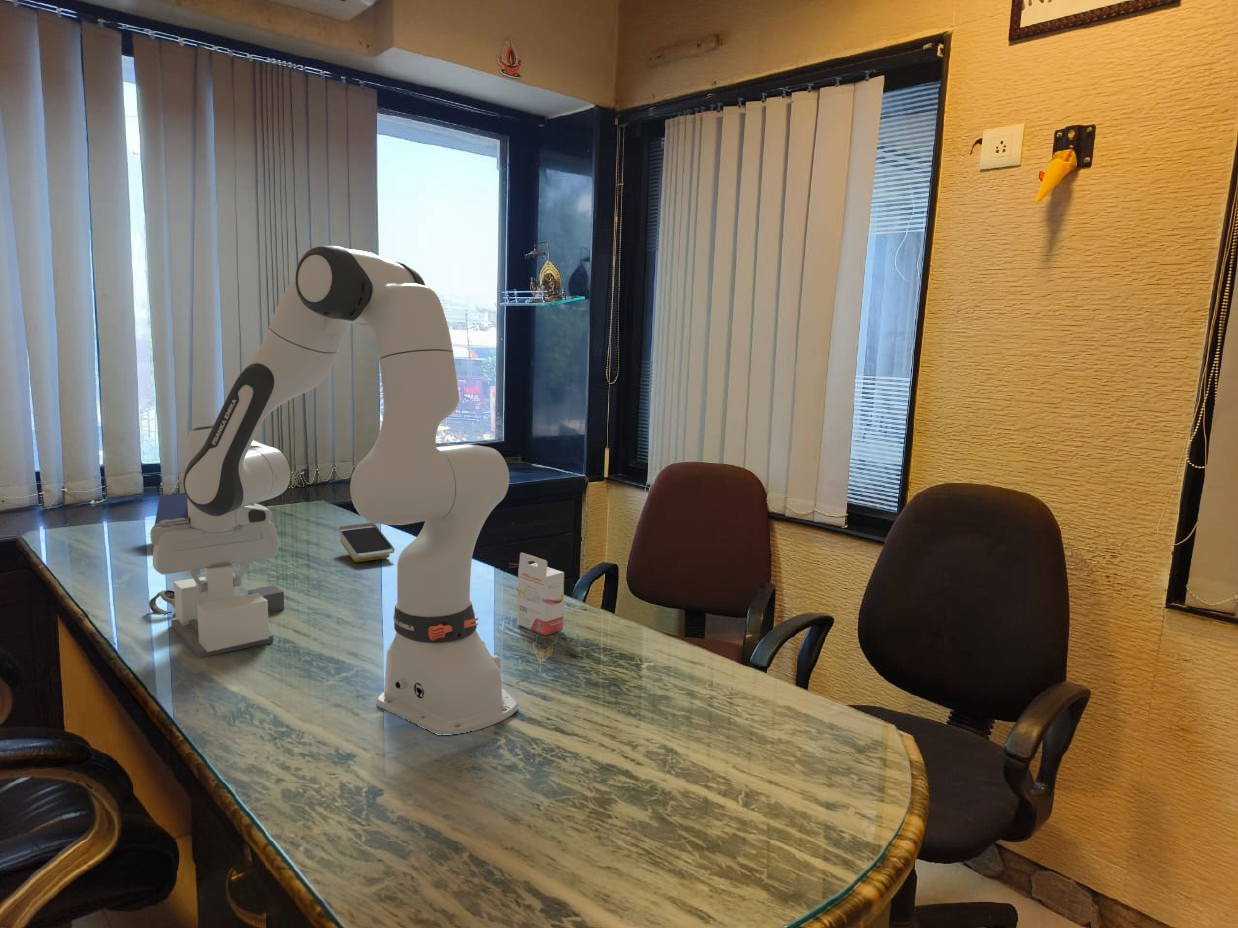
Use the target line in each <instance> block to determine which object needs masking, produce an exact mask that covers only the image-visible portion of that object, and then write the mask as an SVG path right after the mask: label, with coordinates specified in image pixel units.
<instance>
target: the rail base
mask: <svg viewBox="0 0 1238 928" xmlns="http://www.w3.org/2000/svg"><path fill="white" fill-rule="evenodd" d="M233 575H235V573H233ZM198 578H199V580H200V581H201V580H205V576H200V577H199V576H198ZM233 589H234V597H233V598H227V599H222V600H216V601H211V602H207V600H206V593H205V592H201V593H198V592H197V591H196V582H195V581H194V580H193V579H192V578H188V579H181V580H176V581H173V591H174V595H175V608H174V614H175V613H176V615H175V619H171V621H170V623H171V626H170V627H171V628H172V629H173V628H174V629H175V630H174V629H173V630H174V631H175V632H176V633H177V635H179V637H180V638H181V639H182V641H184V642H185V643H186V645H188V646H189V648H190V649H191V650H192V651H193V652H194V654H196V656H198V657H199V658H205V657H209V656H214V655H219V654H223V653H229V652H233V651H238V650H243V649H247V648H252V647H256V646H262V645H266V644H271V643H274V641H273V640H274V638H273V637H274V636H273V634H272V633H271V632H270V631H269V630H270V629H269V626H270V625H269V613H268V600H266V599H265V598H264V597H263V596H261V595H260V594H259V593H255V594H249V595H248V594H246V595H245V594H244V595H241V586H236V587H233Z"/></svg>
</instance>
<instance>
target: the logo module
mask: <svg viewBox="0 0 1238 928" xmlns="http://www.w3.org/2000/svg"><path fill="white" fill-rule="evenodd" d="M203 569H204V577H205V582H207V592H205V593H206V600H207V602H211V601H216V600H222V599H227V598H233V597H234V589H233V574H234V573H233V572H234V571H233V569H234V568H233V564H229V563H227V564H220V565H213V566H210V567H209V568H203Z"/></svg>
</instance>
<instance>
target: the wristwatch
mask: <svg viewBox="0 0 1238 928" xmlns="http://www.w3.org/2000/svg"><path fill="white" fill-rule="evenodd" d="M158 598H161V599H162V600H163V601H165V602H166V603H169V604H170V605H172V606H173V608H174V609H175V595H174V590H172V589H164V590H161V591H159V592H158V593H156V595H155V596H153V597H152V598H151V599H150V600H149V601H148V602H149V603H148V606H149V608H150V610H151V611H152V613H153V614H154V613H156V614H155V615H161V614H164V615H163V616H167V615H169V614H168V613H170V614H171V613H172V611H171V610H169V611H166V610H164V609H162V608H160V607H158V605H157V599H158ZM166 614H167V615H166ZM172 617H176V613H175V612H174V613H173V614H172Z"/></svg>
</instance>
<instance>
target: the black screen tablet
mask: <svg viewBox="0 0 1238 928" xmlns="http://www.w3.org/2000/svg"><path fill="white" fill-rule="evenodd" d="M338 532H339V533H340V544H341V545H342V546H343V547H344V549H345V550H346V552H347V553H348V554H349V556H350V557H351V559H352V560H353V562H355V563H361V562H362V563H363V562H369V561H374V560H376V561H377V560H383V559H386V558H390V555H391V554H394V553H395V547H394V546H393V545H392V544H391V542H390V541H389V539H388V538H387V537H386V536H385V535H384V534H383V532H382V531H381V529H379V527H378V526H377V524H373V523H369V522H366V523H365V522H364V523H358V524H350V525H349V524H348V525H341V526H340V525H339V527H338Z"/></svg>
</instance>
